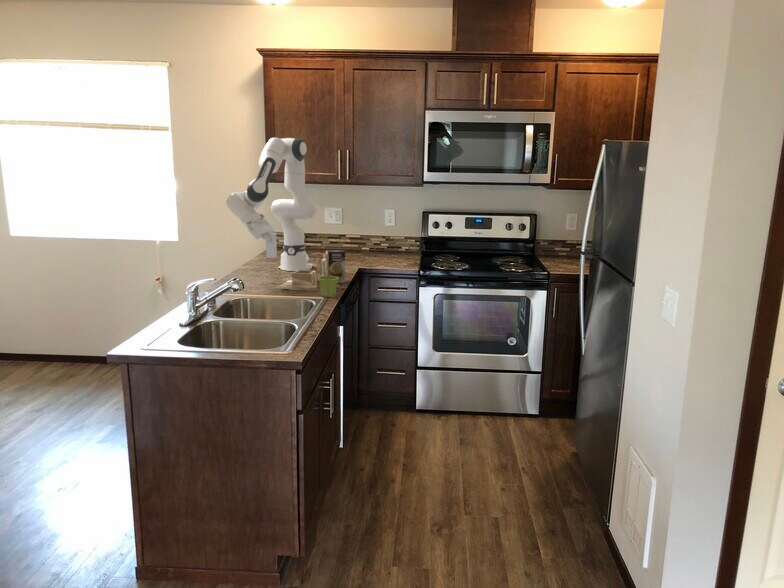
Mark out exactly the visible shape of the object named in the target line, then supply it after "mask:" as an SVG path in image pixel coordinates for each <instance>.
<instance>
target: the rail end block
mask: <svg viewBox="0 0 784 588" xmlns="http://www.w3.org/2000/svg"><path fill="white" fill-rule="evenodd" d="M266 235H267V237H269V238H270V239H271V240H272V242H271V243H268V242H267V241H266V240H265V250H266V251H265V253H266V255H265V256H266V258H267V259H269V258H270V259H275V258H278V254H277V253H278V251H277V249H278V246H277V232H273V231H272V232H268V233H266Z"/></svg>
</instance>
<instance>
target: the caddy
mask: <svg viewBox="0 0 784 588" xmlns="http://www.w3.org/2000/svg"><path fill="white" fill-rule="evenodd" d="M321 276H328V254H326V253H324V254H323V259H322V258H320V257H317V258H316V270H313V269H311V270H296V271H292V273H291V279H288V280H286V281H285V282H283V283H282V284H280V285H279V290H283V289H289V290H288V291H303V290H305V291H307V292H321V286H320V282H319V279H318V277H321Z"/></svg>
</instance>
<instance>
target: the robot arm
mask: <svg viewBox="0 0 784 588" xmlns="http://www.w3.org/2000/svg"><path fill="white" fill-rule="evenodd" d="M307 152H308V146H307V143H306V142H305V140H304V139H301V138H298V137H297V138H294V137H285V138H279V137H271V138H270V139H269V140H268V142H266V144H265V146H264V147H263V149H262V151H261V153H260V156H259V159H258V167H259V170H258V172H257V175H256V177H255V178H254V179H253V180H252V181H250V182H249V184H248V185H247V188H246V190H245V191H233V192H232V193H231V194H229V196H228V198H227V200H226V206H227V208H228V209H229V211H230V212H231V213H232V214H233V215H234V216H235V217H237V218H238V219H239V221H240V222H241V224H242V225H244V226H245V228H246V229H247V230H248V232H250V234H251V236H252V237H253V238H255V239H256V240H259V239H262V240H264V241H265V242H266V241H267V242H268V243H271V242H272V240H271V239H270V238H269V237H267V235H266V233H268V232H273V231H275V230H274V227H273V225H271V224H270V222H269V221H268V220H267V219H266V218H265V217H266V216H265V215H263V214H261V213H259V212H258V211H257V210H258V209H260V208H261V207H262V205H264V202H265V200H266V198H267V197H268V195H269V182H270V180H271V178H272V175H273V174H274V173H275V174H276V173H277V172H278V170H279V168H280V166H281V165H282V162H283V160H285V165H284V178H283V179H284V180H283V181H284V182H283V183H284V185H283V186H284V189H285V190H286V191H287V192H289V193H291V194H292V197H293V198H292V199H291V198H280V199H275V200H274V201H273V202H272V204H271V207H270V210H271V214H272V216H274V218H276V220H278V221H279V224H281V225H280V226H281V227H282V231H283V246H282V248H283V249H282V250H283V252H282V253H281V254H280V265H279V266H278V269H279V268H280V270H282V271H285V272H286V271H289V272H295V271H296V270H310V269H311V270H312V267H313V263H310V261H309V255H308V254H307V252H306V244H307V243H305V231H304V229H303V228H302V227H301V226H300V225H298V224H297V223H296V220H298V221H299V220H300V221H301V220H313V218H315V216H317V215H316V214H317V206H316V203H315V202H314V201H313V200H312V199H311V198H310V197H309V195H308V193H307V189H306V166H305V165H306V164H305V157H306V155H307Z"/></svg>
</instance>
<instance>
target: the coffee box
mask: <svg viewBox="0 0 784 588" xmlns="http://www.w3.org/2000/svg"><path fill="white" fill-rule="evenodd" d="M325 254H328V276H337V277H339V279H338V282H337V284H343V283H346V251H345V250H344V249H334V250H333V249H331V250H330V249H329V250H328V249H326V250H325Z"/></svg>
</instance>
